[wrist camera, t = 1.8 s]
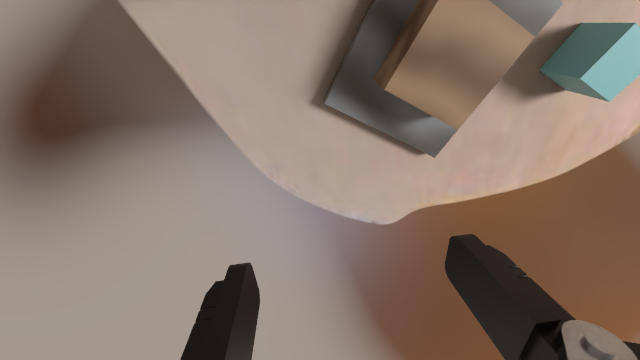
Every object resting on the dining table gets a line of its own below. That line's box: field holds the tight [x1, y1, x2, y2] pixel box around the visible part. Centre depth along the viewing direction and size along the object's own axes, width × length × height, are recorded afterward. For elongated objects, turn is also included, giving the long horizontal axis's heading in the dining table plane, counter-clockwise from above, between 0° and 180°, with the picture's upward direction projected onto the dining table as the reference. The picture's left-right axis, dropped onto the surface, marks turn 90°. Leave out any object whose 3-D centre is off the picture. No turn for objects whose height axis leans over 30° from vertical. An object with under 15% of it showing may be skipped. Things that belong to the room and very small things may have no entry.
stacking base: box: [324, 0, 563, 158], centre depth 23 cm, size 18×16×6 cm
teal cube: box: [539, 23, 640, 102], centre depth 25 cm, size 5×5×5 cm
